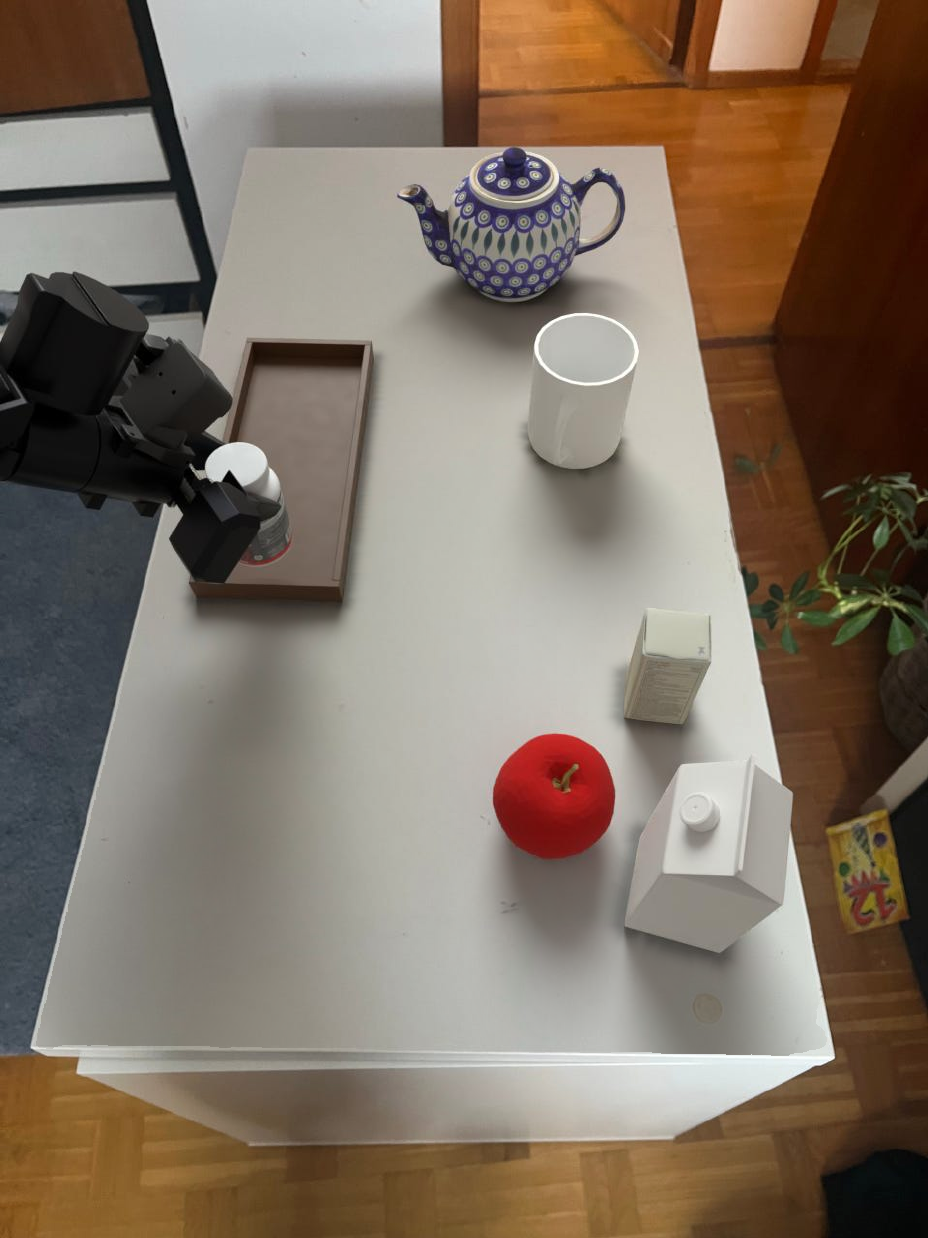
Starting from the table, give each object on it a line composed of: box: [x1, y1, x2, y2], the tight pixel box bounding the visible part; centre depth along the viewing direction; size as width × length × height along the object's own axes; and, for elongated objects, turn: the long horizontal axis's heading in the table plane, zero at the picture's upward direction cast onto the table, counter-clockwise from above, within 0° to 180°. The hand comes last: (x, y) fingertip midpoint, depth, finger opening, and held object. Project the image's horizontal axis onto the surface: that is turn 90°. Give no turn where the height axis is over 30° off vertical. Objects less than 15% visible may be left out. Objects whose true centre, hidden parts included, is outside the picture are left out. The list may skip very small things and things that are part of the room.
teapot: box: [396, 146, 626, 303], centre depth 97 cm, size 25×15×15 cm, turn 93°
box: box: [623, 607, 712, 725], centre depth 70 cm, size 5×4×11 cm
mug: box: [527, 312, 640, 470], centre depth 84 cm, size 10×12×12 cm
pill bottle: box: [204, 442, 293, 567], centre depth 71 cm, size 6×6×10 cm
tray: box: [188, 337, 375, 603], centre depth 87 cm, size 31×13×2 cm, turn 178°
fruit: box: [492, 732, 616, 860], centre depth 65 cm, size 9×9×10 cm
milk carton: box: [624, 753, 794, 954], centre depth 58 cm, size 7×7×19 cm
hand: (259, 485), depth 70 cm, fingers closed on pill bottle, 6 cm apart
